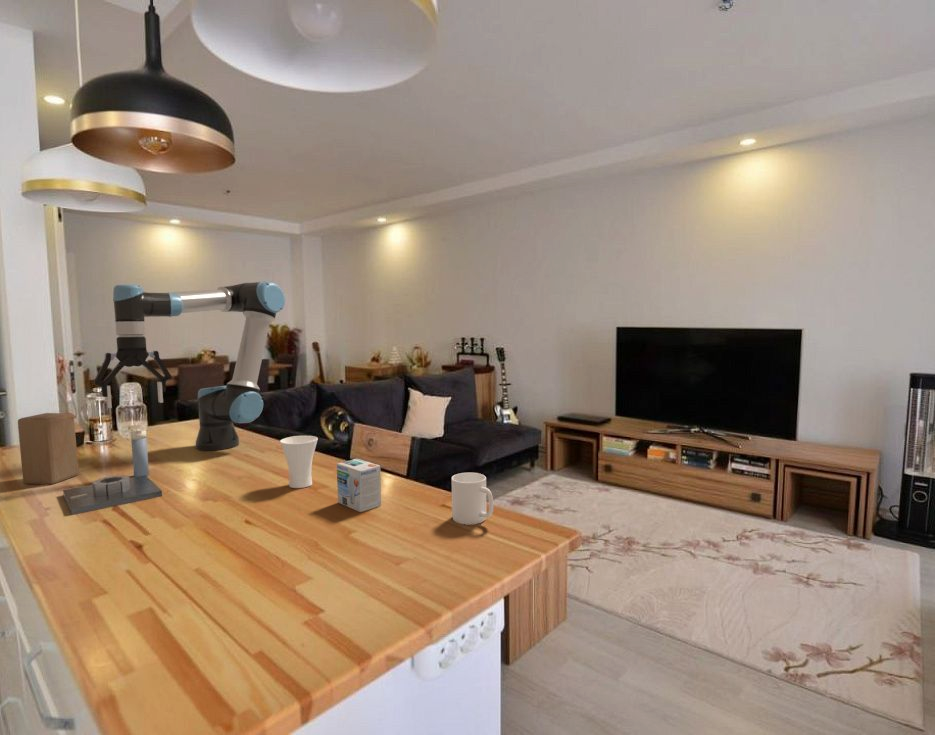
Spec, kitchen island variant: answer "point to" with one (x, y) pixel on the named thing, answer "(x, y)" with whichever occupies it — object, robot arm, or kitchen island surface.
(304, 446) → the cup
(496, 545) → the kitchen island surface
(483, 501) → the cup
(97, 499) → the base plate
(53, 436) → the wooden block
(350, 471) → the light bulb box
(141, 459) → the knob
